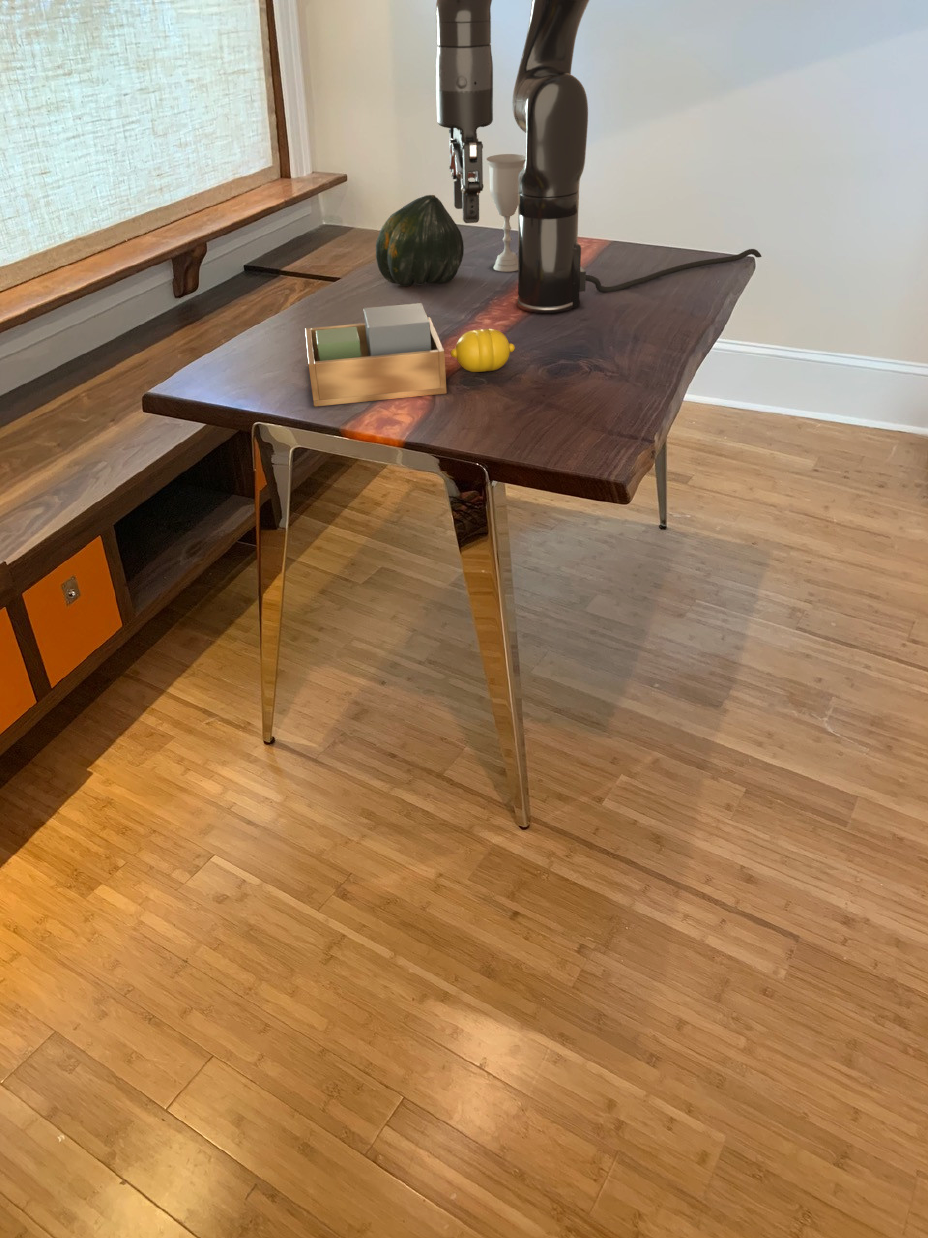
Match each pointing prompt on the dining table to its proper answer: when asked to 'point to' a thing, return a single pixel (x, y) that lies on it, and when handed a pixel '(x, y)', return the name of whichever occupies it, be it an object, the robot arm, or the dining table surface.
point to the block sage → (338, 343)
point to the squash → (419, 244)
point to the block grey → (397, 329)
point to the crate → (375, 372)
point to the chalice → (505, 200)
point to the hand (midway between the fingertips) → (466, 214)
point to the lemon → (482, 350)
